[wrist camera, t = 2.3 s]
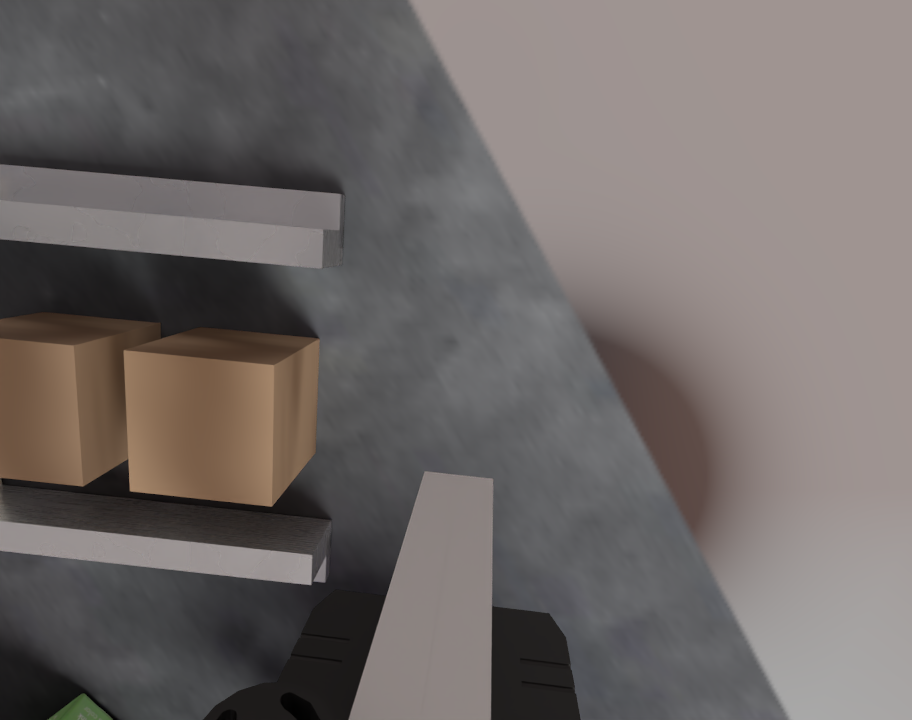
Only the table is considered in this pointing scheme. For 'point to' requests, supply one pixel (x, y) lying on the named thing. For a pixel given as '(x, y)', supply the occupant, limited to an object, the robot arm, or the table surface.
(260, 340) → the brown shipping carton
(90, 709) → the ink box
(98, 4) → the table surface
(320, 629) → the robot arm
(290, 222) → the slot rails
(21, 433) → the tan cardboard cube
